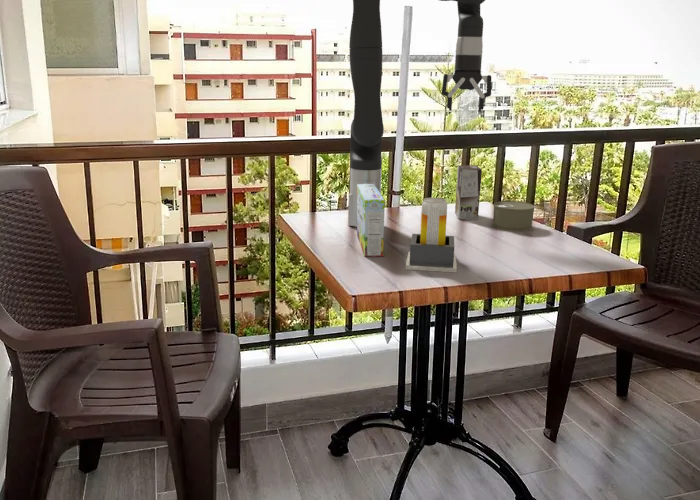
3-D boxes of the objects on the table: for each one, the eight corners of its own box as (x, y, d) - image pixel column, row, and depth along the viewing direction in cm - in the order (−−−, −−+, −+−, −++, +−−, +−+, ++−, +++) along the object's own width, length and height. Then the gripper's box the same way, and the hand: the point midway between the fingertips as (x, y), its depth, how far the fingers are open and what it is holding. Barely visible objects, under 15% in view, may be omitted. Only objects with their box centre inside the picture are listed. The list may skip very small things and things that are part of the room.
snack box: (354, 235, 187) (356, 183, 183) (374, 235, 187) (376, 183, 183) (362, 257, 167) (364, 199, 162) (384, 257, 167) (387, 199, 163)
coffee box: (478, 220, 208) (482, 169, 204) (458, 219, 208) (461, 169, 204) (473, 213, 217) (477, 164, 212) (454, 213, 217) (457, 164, 212)
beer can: (443, 256, 165) (446, 197, 161) (445, 263, 159) (448, 202, 155) (419, 255, 165) (421, 196, 161) (419, 262, 160) (422, 202, 155)
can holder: (405, 269, 158) (406, 245, 156) (408, 255, 169) (409, 232, 167) (456, 272, 156) (457, 248, 154) (455, 258, 167) (457, 235, 166)
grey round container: (540, 230, 198) (542, 207, 196) (507, 233, 193) (509, 210, 191) (516, 221, 208) (518, 199, 206) (484, 224, 204) (485, 202, 202)
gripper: (443, 53, 187) (440, 111, 191) (494, 54, 185) (490, 112, 189) (444, 53, 194) (440, 109, 198) (493, 54, 192) (488, 110, 197)
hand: (464, 111), depth 194 cm, fingers open, 8 cm apart
